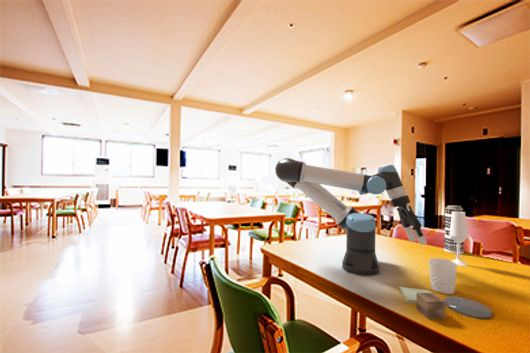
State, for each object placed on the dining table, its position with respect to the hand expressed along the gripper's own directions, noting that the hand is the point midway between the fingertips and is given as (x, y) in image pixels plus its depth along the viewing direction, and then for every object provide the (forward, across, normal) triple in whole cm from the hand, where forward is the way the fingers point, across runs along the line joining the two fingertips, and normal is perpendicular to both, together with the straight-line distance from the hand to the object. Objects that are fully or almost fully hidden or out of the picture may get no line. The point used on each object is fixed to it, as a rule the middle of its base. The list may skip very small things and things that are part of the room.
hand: (418, 242), depth 106 cm
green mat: (+12, -29, +14) cm, 34 cm away
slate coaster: (+16, -32, +3) cm, 36 cm away
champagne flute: (+16, +14, -16) cm, 26 cm away
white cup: (+14, -20, +4) cm, 25 cm away
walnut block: (+13, -39, +14) cm, 43 cm away
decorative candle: (+15, +36, -23) cm, 45 cm away
